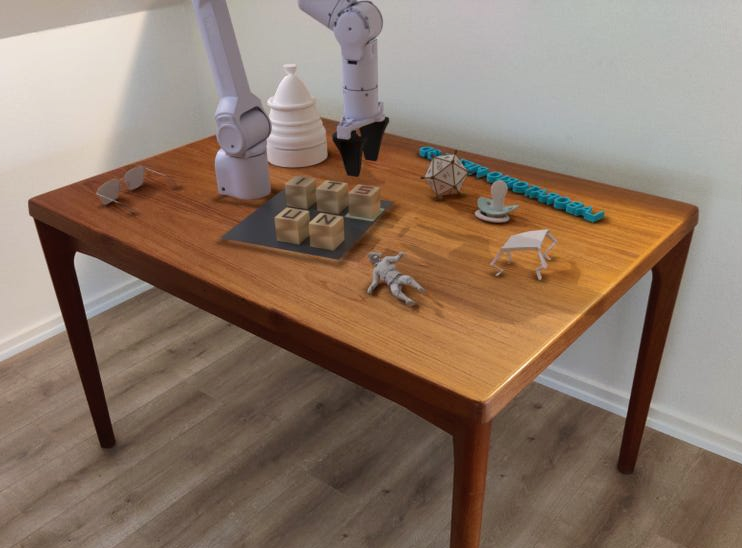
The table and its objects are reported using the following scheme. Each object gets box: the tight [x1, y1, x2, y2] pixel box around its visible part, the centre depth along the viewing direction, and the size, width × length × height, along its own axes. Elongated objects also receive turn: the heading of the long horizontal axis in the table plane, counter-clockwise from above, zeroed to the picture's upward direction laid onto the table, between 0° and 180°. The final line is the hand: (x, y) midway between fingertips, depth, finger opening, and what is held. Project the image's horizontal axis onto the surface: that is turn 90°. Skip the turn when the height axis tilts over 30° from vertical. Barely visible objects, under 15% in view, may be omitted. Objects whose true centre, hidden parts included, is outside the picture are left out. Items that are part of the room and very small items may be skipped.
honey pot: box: [266, 63, 328, 168], centre depth 151 cm, size 13×13×18 cm
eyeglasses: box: [95, 165, 179, 215], centre depth 139 cm, size 14×8×4 cm, turn 155°
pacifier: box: [474, 180, 519, 224], centre depth 127 cm, size 7×6×6 cm
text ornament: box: [419, 146, 606, 223], centre depth 141 cm, size 45×3×1 cm, turn 39°
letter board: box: [219, 175, 395, 261], centre depth 127 cm, size 22×24×5 cm
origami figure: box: [489, 229, 559, 281], centre depth 112 cm, size 12×8×5 cm
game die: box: [419, 149, 473, 201], centre depth 135 cm, size 9×8×10 cm
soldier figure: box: [366, 251, 427, 307], centre depth 108 cm, size 8×5×12 cm
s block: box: [348, 183, 381, 219], centre depth 128 cm, size 4×4×4 cm
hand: (362, 167), depth 126 cm, fingers open, 7 cm apart
